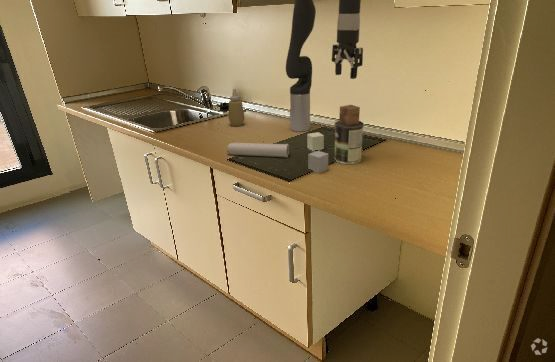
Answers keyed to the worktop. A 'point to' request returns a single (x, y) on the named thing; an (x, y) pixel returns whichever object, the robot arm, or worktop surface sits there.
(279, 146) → the tube
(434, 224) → the worktop surface
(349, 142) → the coffee can
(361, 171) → the worktop surface
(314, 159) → the slate grey block
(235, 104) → the squeeze bottle
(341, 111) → the walnut block
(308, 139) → the pale sage block
